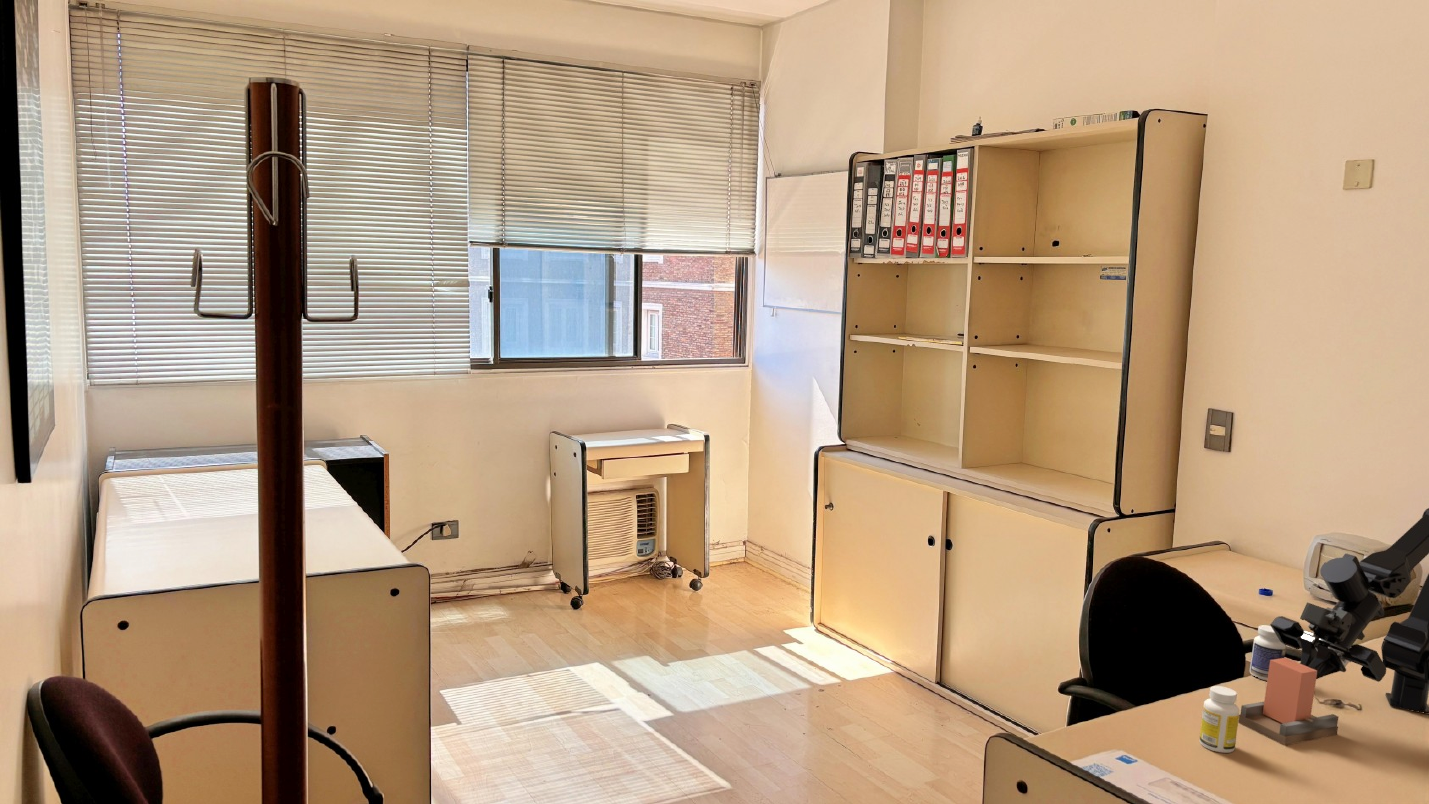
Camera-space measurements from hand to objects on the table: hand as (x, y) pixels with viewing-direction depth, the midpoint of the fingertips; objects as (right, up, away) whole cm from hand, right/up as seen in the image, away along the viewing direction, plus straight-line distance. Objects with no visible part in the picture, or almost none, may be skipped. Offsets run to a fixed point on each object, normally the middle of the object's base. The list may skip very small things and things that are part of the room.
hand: (1299, 682), depth 178 cm
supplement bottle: (-19, -9, -8) cm, 22 cm away
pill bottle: (+7, -6, +25) cm, 26 cm away
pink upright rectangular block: (-2, -6, 0) cm, 7 cm away
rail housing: (-2, -8, 0) cm, 8 cm away
